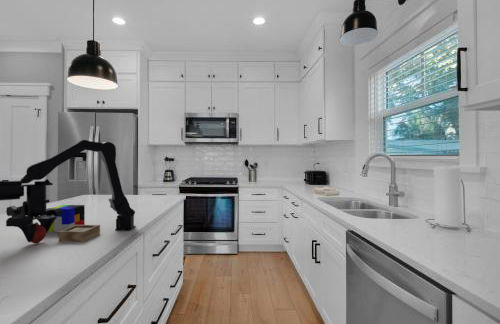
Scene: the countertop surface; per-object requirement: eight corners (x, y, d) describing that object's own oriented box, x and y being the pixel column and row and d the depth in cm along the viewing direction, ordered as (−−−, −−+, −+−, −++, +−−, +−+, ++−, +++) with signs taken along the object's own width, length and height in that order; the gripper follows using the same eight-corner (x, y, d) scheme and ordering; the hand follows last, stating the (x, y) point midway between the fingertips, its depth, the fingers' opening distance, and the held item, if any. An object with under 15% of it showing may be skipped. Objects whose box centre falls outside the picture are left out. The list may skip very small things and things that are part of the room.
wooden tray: (99, 233, 109) (99, 225, 109) (84, 241, 99) (84, 231, 99) (76, 233, 109) (76, 224, 109) (58, 241, 99) (58, 231, 99)
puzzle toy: (69, 232, 112) (69, 209, 111) (46, 231, 112) (46, 209, 112) (84, 226, 122) (84, 205, 121) (63, 225, 122) (63, 204, 122)
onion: (50, 242, 97) (50, 221, 97) (33, 247, 92) (33, 225, 92) (40, 240, 99) (39, 220, 99) (22, 245, 94) (22, 223, 94)
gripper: (36, 194, 105) (36, 232, 105) (-11, 201, 86) (-11, 248, 86) (63, 194, 105) (63, 232, 105) (22, 202, 86) (22, 248, 86)
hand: (36, 239), depth 96 cm, fingers closed on onion, 6 cm apart
